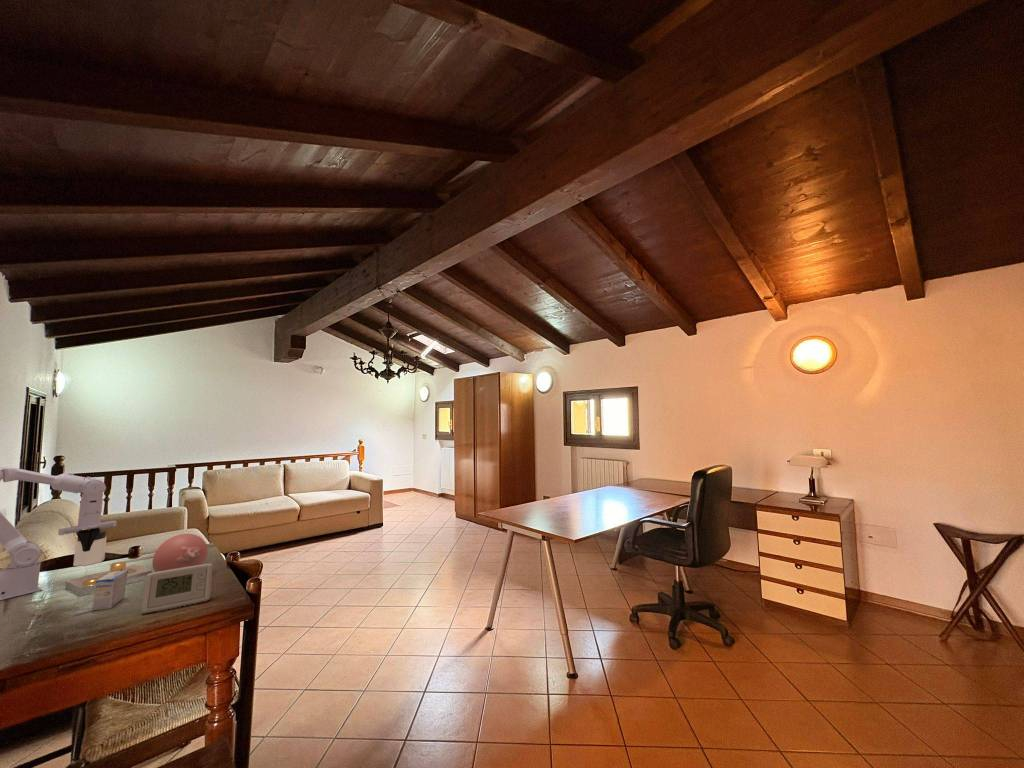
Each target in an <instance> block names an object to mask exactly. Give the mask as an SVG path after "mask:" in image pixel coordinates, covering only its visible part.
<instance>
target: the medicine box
mask: <svg viewBox="0 0 1024 768" xmlns="http://www.w3.org/2000/svg"><path fill="white" fill-rule="evenodd" d="M126 577H127V571H116V572H110V573H108V574H106V575H105V576H103V577H101V578H100V579H98V580H97V581H96V582H95V591H94V593H93V601H92V607H91V608H92V610H91V611H100V610H101V611H102V610H107V609H111V608H112V607H114V606H116V604H118V603H119V602H120V601H122V600H123V599H124V598H125V593H126V586H127V584H126Z"/></svg>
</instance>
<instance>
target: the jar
mask: <svg viewBox="0 0 1024 768" xmlns="http://www.w3.org/2000/svg"><path fill="white" fill-rule="evenodd" d="M99 530H100V533H99V534H98V536H97V537H96V538H95V540H94V542H93V544H92V546H91V549H90V551H86V552H84V551H83V550H82V545H81V542H80V540H79V538H78V537H77V540H76V542H75V548H74V555H73V565H72V566H73V567H85V566H90V565H96V564H99V563H101V562H103V561H104V560H105V559H106V548H107V538H108V537H107V530H106V529H99Z"/></svg>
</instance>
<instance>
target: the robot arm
mask: <svg viewBox="0 0 1024 768" xmlns="http://www.w3.org/2000/svg"><path fill="white" fill-rule="evenodd" d="M1 481H3V483H9V482H14V481H23V482H30V483H36V484H44V485H50V486H51V488H52V489H53V490H54V491H61V492H67V493H73V494H79V493H81V500H80V502H79V510H78V519H77V525H75V526H68V527H65V528H59V529H58V534H57V535H58V536H64V535H69V534H76V536H77V538H79V540H80V542H81V545H82V550H83V551H84V552H86V551H90V549H91V546H92V544H93V542H94V540H95V538H96V537H97V536H98V534H99V533H100V530H101V529H106V528H113V527H117V523H118V521H117V520H110V521H109V520H108V521H102V510H103V504H104V503H103V500H104V499H103V497H104V492H105V491H106V489H107V486H106V484H105V481H102V480H101V479H97V478H92V477H91V476H86V477H85V476H79V475H75V474H74V473H72V472H67V473H64V472H63V473H61V474H58V475H52V474H48V473H41V472H37V471H32V470H27V469H22V468H18V467H17V468H16V467H7V466H0V482H1ZM0 544H1V545H2V547H3V548H4V550H6V552H7V553H8V554H9V558H10V561H11V562H10V563H9V564H7V565H6V567H5V568H2V569H0V601H2V600H3V601H4V600H7V599H10V598H11V599H12V598H14V597H20V596H23V595H28V594H31V593H36V592H39V591H43V588H42V587H40V586H39V579H40V578H39V577H40V571H41V564H42V563H41V562H42V560H41V559H40V558H41V556H42V550H41V549H40V547H39V545H38V544H37V543H36V542H34V541H33V542H32V541H30V540H28V539H27V538H26V537H25V536H24V535H23V534H22V533H21V532H20V531H19V530H18V529H17V528H16V527H15V525H13V524H12V522H10V521H9V520H8V518H6V516H4V515H3V513H2V512H1V511H0Z"/></svg>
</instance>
